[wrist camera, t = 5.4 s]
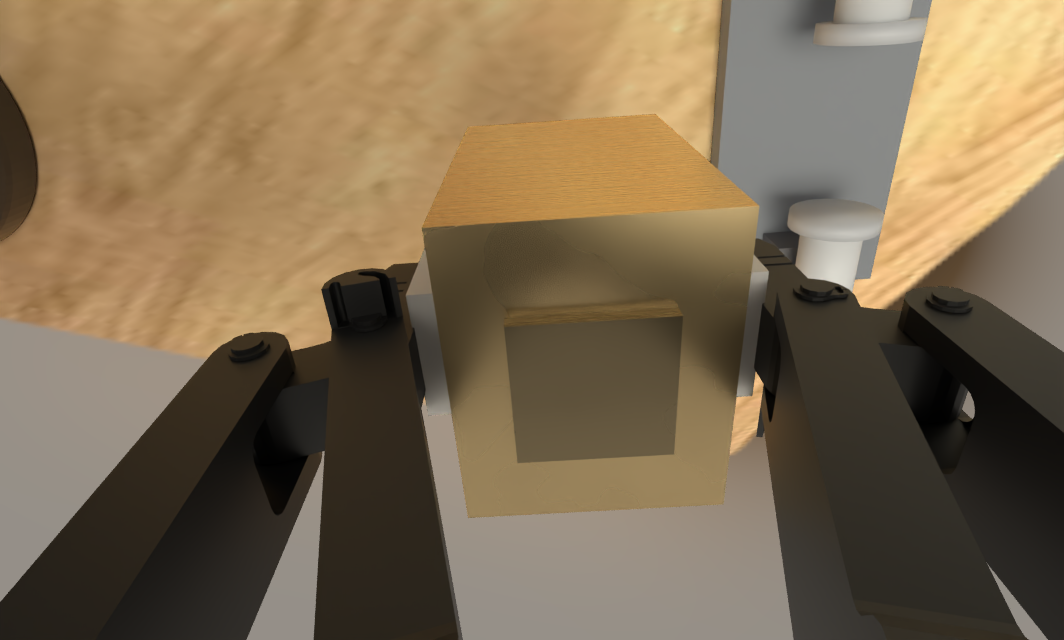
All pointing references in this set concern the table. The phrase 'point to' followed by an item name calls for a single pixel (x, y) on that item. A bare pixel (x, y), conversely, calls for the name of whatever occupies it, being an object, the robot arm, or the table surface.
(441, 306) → the coupler
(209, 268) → the table surface
